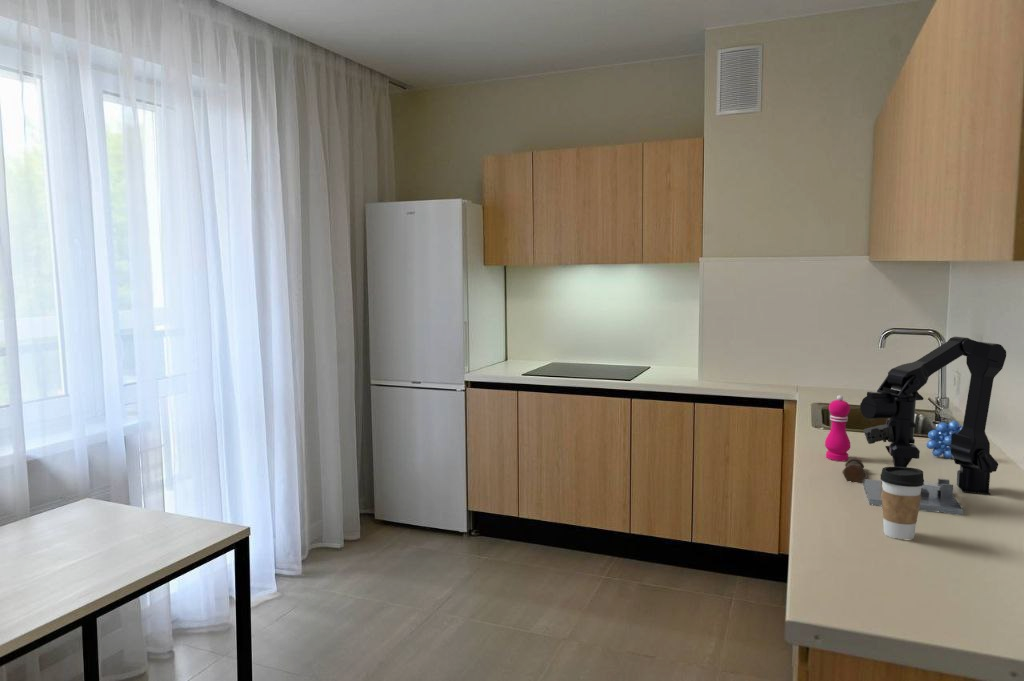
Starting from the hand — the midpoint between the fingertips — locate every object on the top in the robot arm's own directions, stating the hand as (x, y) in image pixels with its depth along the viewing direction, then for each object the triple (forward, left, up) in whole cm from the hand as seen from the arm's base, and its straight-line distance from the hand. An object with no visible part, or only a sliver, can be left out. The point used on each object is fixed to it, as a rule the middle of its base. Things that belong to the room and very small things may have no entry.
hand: (898, 476), depth 181 cm
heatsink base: (-3, +1, -5) cm, 6 cm away
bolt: (+9, -17, -6) cm, 20 cm away
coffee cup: (+3, +30, -6) cm, 31 cm away
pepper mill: (+12, -34, -6) cm, 37 cm away
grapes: (-20, -48, -6) cm, 52 cm away
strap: (-5, 0, -2) cm, 5 cm away
